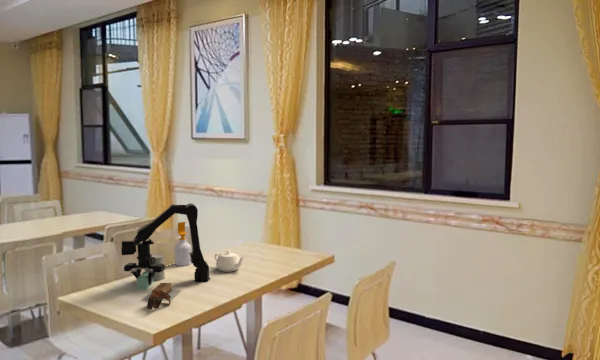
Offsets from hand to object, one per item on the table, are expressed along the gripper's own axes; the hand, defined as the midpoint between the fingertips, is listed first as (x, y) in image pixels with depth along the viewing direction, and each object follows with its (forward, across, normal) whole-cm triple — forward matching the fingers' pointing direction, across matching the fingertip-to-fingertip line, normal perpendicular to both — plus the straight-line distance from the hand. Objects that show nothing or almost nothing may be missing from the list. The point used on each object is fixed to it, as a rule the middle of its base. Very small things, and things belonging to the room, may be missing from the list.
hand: (145, 284), depth 236 cm
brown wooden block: (+1, -13, +14) cm, 19 cm away
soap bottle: (+1, -5, -40) cm, 40 cm away
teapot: (+2, -34, -32) cm, 47 cm away
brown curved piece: (+2, -17, +25) cm, 30 cm away
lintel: (+1, 0, 0) cm, 1 cm away
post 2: (+1, -13, +8) cm, 15 cm away
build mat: (+1, -13, +11) cm, 17 cm away
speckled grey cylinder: (+2, 0, -12) cm, 12 cm away
